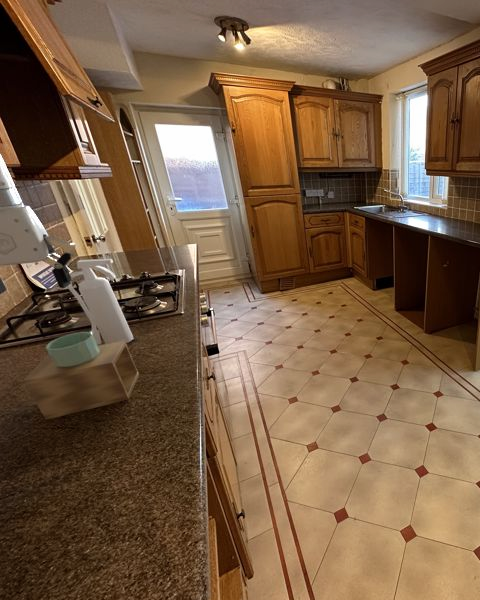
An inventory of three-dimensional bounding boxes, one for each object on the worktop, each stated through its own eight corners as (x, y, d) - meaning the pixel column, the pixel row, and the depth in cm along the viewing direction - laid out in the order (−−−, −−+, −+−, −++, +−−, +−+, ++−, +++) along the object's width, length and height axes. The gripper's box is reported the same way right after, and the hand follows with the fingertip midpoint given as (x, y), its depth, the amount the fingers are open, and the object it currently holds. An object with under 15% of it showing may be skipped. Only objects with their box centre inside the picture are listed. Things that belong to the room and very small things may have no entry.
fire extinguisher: (93, 342, 95) (55, 261, 85) (143, 332, 100) (113, 254, 90) (85, 353, 89) (44, 268, 79) (138, 342, 95) (106, 260, 84)
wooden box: (46, 419, 67) (22, 381, 63) (66, 391, 75) (46, 355, 71) (128, 399, 72) (112, 362, 68) (139, 374, 80) (125, 340, 76)
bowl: (49, 372, 65) (38, 353, 63) (64, 354, 71) (55, 336, 69) (94, 363, 68) (85, 344, 66) (105, 346, 74) (97, 329, 72)
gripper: (-104, 205, 50) (-43, 304, 57) (44, 200, 57) (82, 289, 64) (-67, 200, 57) (-16, 289, 64) (62, 195, 63) (96, 277, 70)
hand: (33, 289), depth 64 cm, fingers open, 9 cm apart
